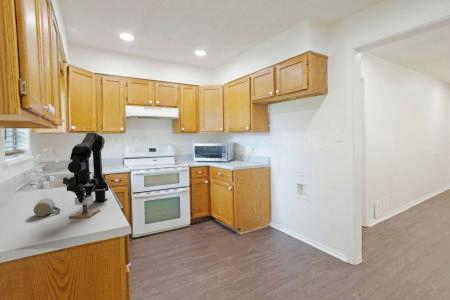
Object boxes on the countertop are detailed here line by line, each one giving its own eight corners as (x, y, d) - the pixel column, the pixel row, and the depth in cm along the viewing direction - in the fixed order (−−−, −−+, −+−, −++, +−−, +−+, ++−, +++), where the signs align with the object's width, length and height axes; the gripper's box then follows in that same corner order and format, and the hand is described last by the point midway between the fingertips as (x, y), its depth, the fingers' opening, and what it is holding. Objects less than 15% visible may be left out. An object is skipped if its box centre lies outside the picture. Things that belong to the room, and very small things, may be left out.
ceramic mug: (32, 218, 114) (32, 202, 114) (37, 213, 122) (37, 199, 122) (59, 215, 119) (58, 200, 119) (62, 210, 126) (61, 196, 126)
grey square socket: (81, 201, 121) (81, 195, 121) (93, 201, 121) (93, 194, 121) (74, 205, 115) (74, 198, 115) (87, 204, 115) (87, 197, 115)
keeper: (80, 211, 123) (79, 198, 123) (100, 211, 124) (99, 198, 123) (68, 218, 113) (68, 204, 113) (90, 217, 114) (89, 203, 113)
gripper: (77, 168, 126) (78, 197, 127) (53, 173, 108) (55, 207, 108) (98, 168, 127) (99, 196, 128) (78, 173, 108) (80, 206, 109)
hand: (84, 201), depth 118 cm, fingers closed on grey square socket, 6 cm apart
